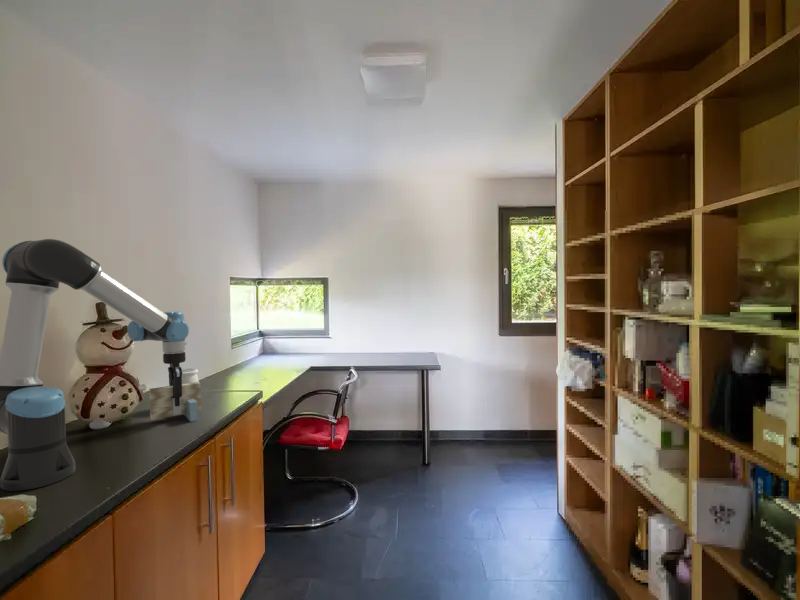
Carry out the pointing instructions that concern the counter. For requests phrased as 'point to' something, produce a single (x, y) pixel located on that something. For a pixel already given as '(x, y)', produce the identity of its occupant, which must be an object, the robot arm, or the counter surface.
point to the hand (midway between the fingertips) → (176, 413)
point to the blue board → (191, 410)
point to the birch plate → (164, 404)
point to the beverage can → (99, 424)
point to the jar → (189, 376)
